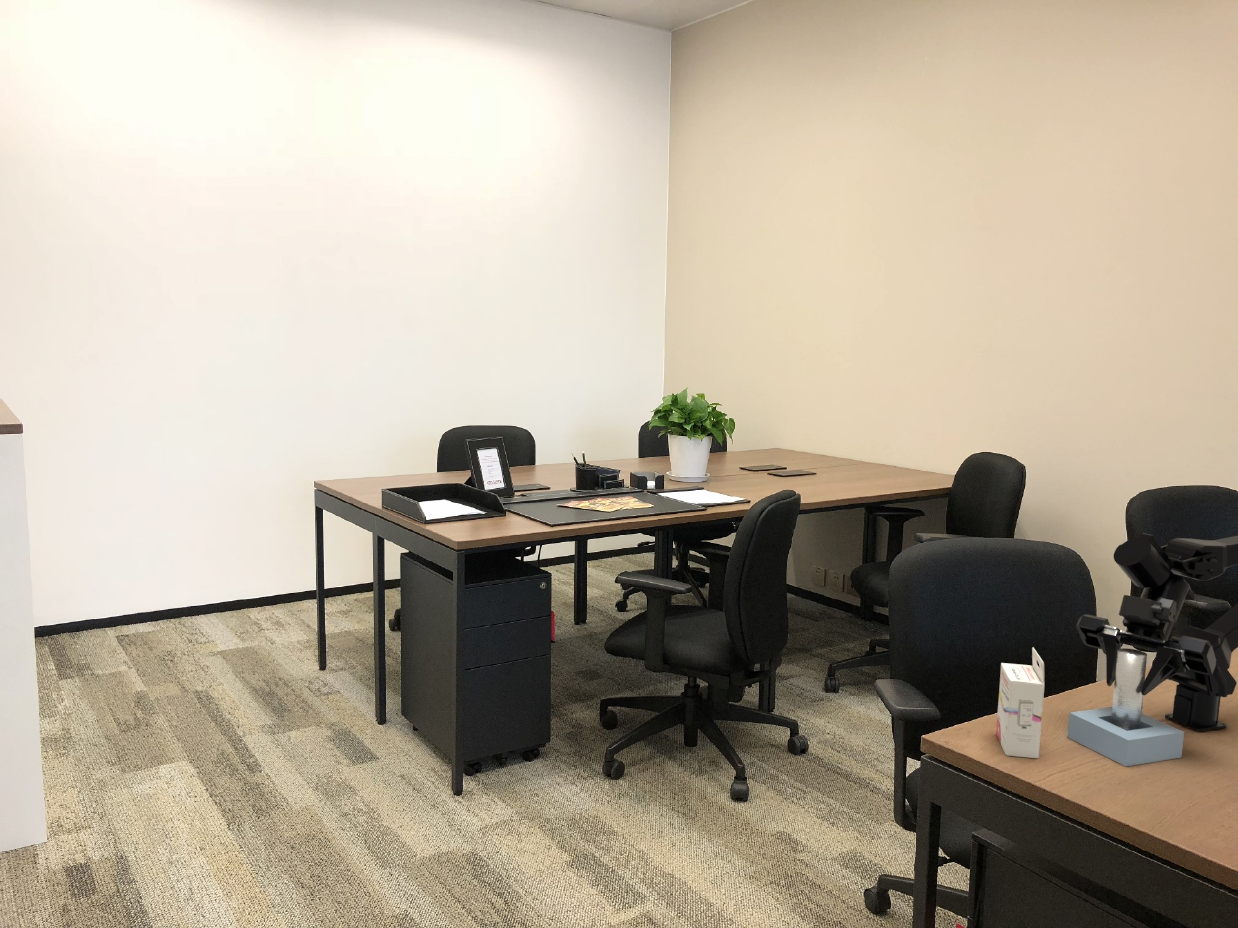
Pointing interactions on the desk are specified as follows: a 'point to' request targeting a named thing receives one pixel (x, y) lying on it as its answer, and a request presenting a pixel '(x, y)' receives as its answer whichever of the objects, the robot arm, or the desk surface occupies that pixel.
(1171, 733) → the bracket block
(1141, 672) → the silver tall cylinder
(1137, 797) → the desk surface
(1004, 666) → the ink cartridge box
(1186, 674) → the robot arm
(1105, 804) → the desk surface
